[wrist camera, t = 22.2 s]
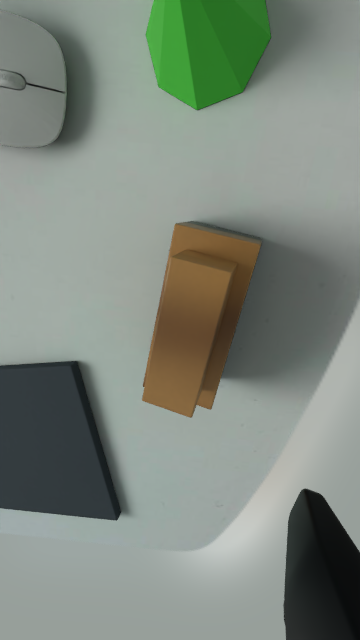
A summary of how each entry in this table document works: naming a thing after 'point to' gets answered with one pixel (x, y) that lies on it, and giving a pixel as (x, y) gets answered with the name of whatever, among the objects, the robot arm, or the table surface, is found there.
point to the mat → (51, 444)
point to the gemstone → (206, 47)
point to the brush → (197, 314)
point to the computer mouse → (30, 84)
